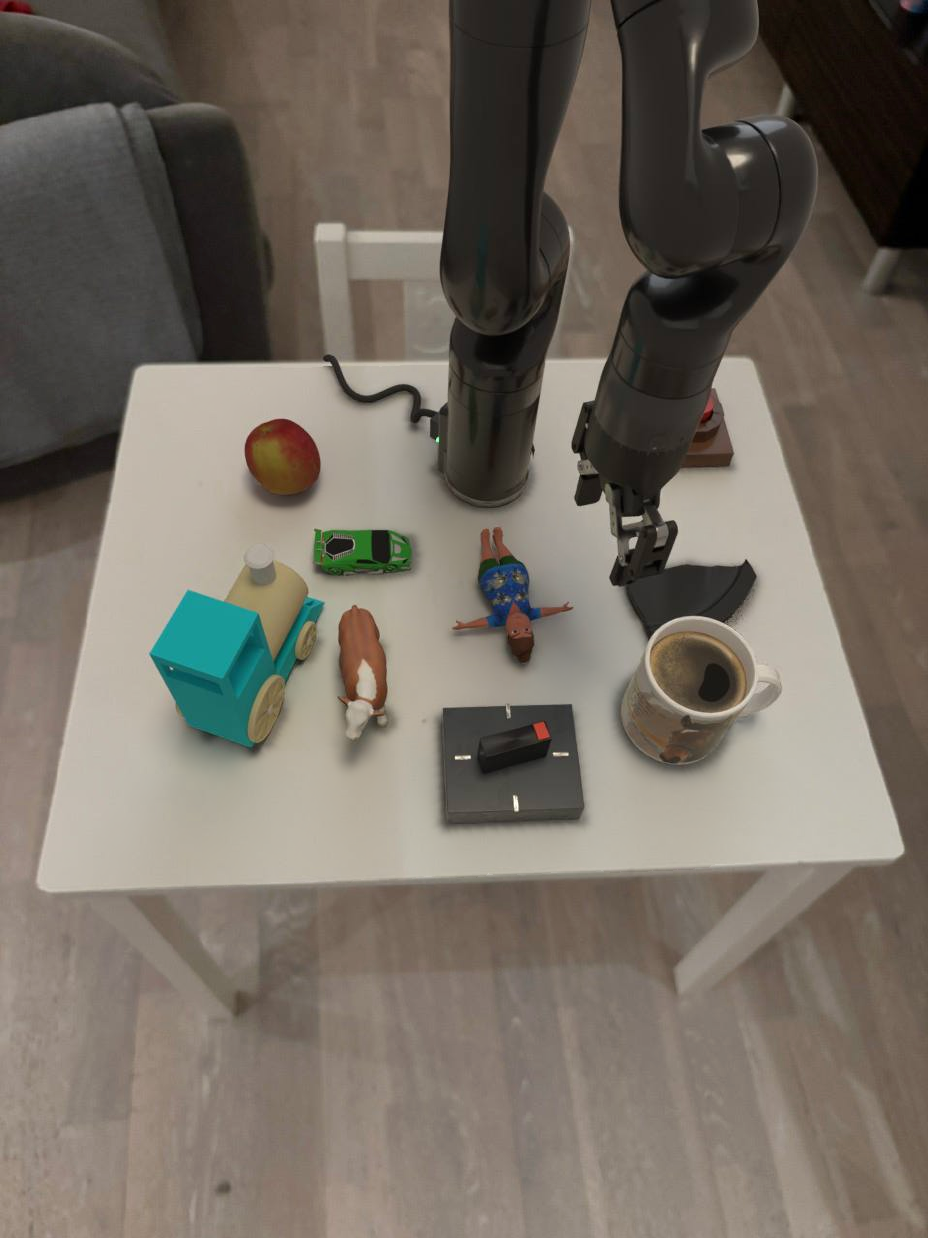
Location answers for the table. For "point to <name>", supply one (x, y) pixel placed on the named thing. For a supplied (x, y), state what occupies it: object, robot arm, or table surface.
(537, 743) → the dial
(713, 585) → the fan shaped piece
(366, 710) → the bull figurine
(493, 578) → the toy character
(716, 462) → the button block
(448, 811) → the dial panel
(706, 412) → the button
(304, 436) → the apple
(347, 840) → the table surface
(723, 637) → the mug
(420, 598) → the table surface
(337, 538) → the toy car
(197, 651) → the toy train
